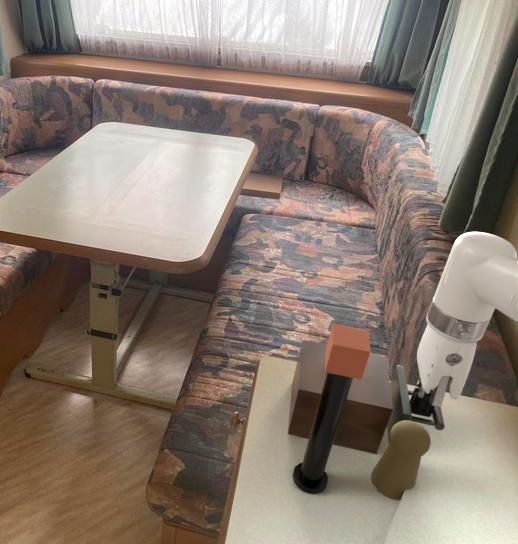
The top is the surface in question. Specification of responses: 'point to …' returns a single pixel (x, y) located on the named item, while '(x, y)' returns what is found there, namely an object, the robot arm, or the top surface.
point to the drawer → (407, 404)
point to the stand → (322, 435)
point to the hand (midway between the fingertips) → (418, 411)
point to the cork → (401, 459)
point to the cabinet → (359, 405)
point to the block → (347, 351)
